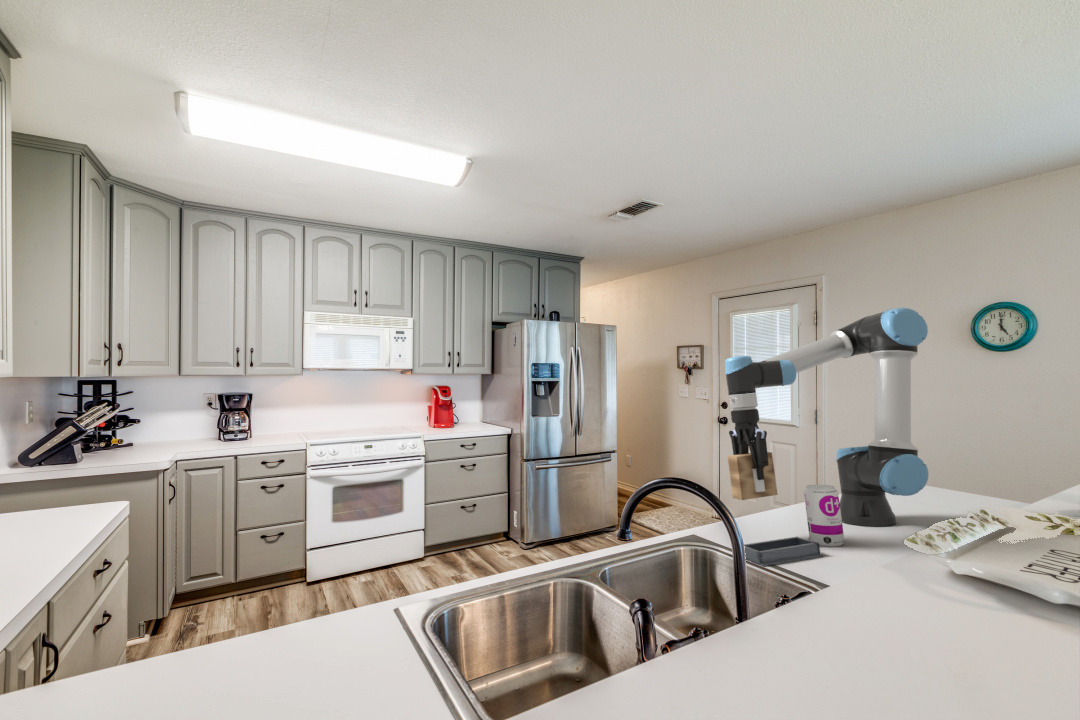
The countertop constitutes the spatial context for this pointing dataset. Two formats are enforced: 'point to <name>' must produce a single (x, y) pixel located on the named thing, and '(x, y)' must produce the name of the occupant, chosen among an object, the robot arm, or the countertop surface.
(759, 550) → the track
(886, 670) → the countertop surface
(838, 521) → the supplement can
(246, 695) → the countertop surface
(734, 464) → the panel
